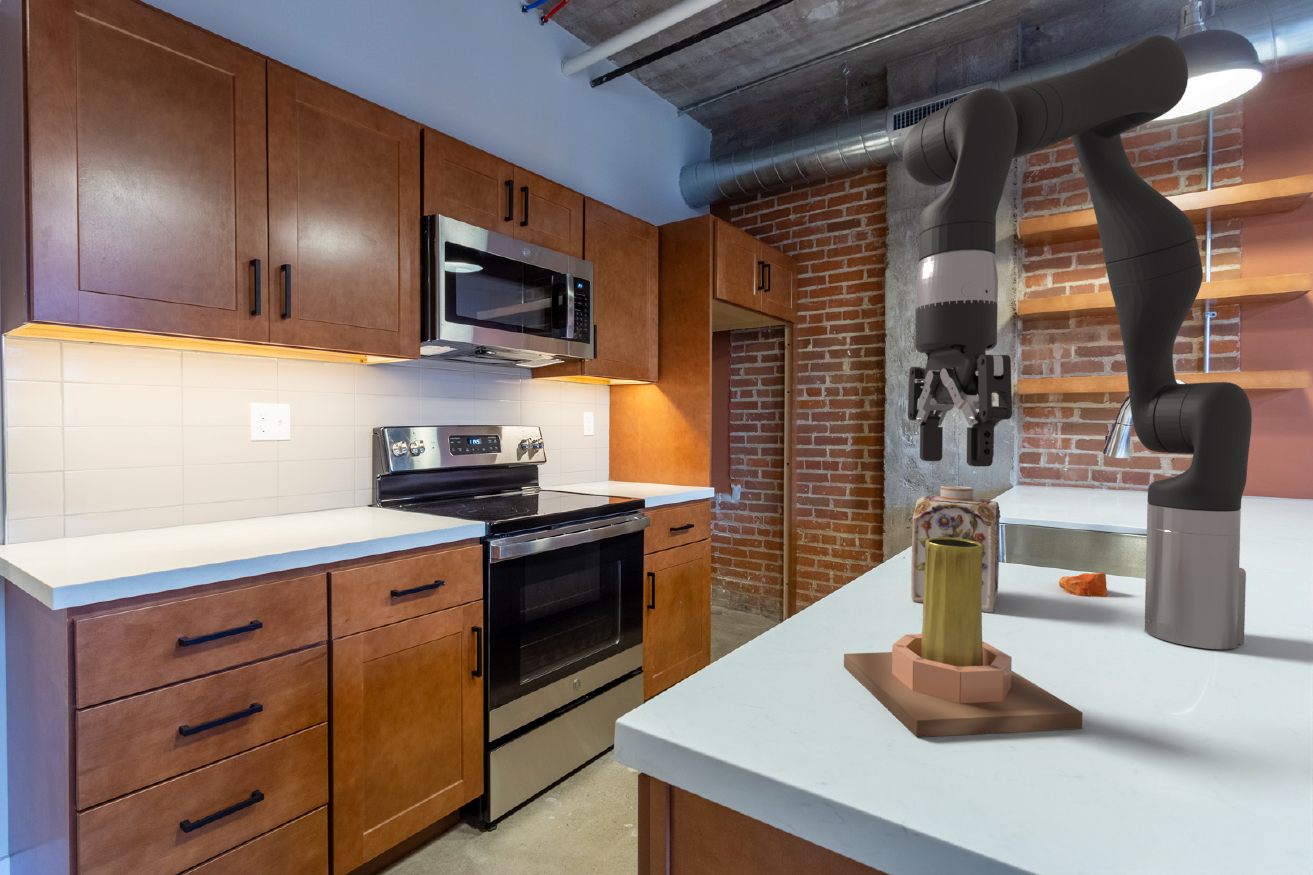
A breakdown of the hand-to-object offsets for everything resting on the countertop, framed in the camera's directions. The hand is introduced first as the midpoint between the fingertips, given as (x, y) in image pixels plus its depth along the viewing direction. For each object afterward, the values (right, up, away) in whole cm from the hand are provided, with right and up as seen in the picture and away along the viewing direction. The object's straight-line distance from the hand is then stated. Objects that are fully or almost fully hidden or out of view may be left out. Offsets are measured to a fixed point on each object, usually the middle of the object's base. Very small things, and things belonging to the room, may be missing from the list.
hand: (953, 463), depth 64 cm
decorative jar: (+17, -23, +36) cm, 46 cm away
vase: (0, -23, +1) cm, 22 cm away
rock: (+41, -24, +40) cm, 62 cm away
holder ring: (0, -22, +1) cm, 22 cm away
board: (0, -24, +1) cm, 24 cm away
